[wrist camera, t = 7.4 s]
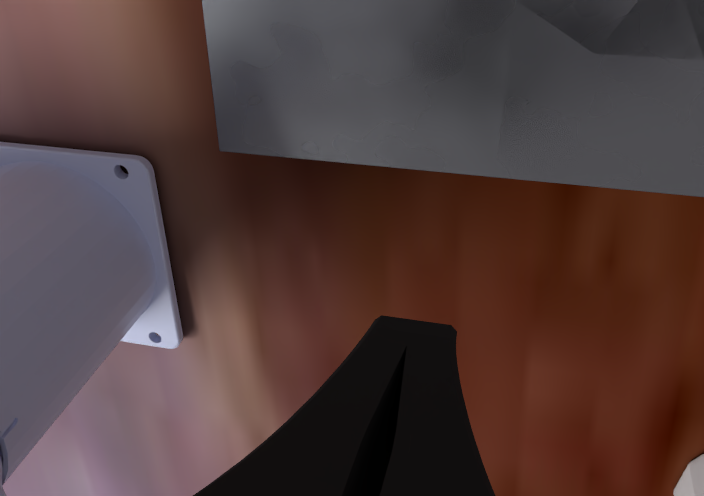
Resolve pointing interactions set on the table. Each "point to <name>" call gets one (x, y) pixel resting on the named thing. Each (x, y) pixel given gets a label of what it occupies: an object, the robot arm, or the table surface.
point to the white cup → (692, 479)
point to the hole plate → (468, 86)
